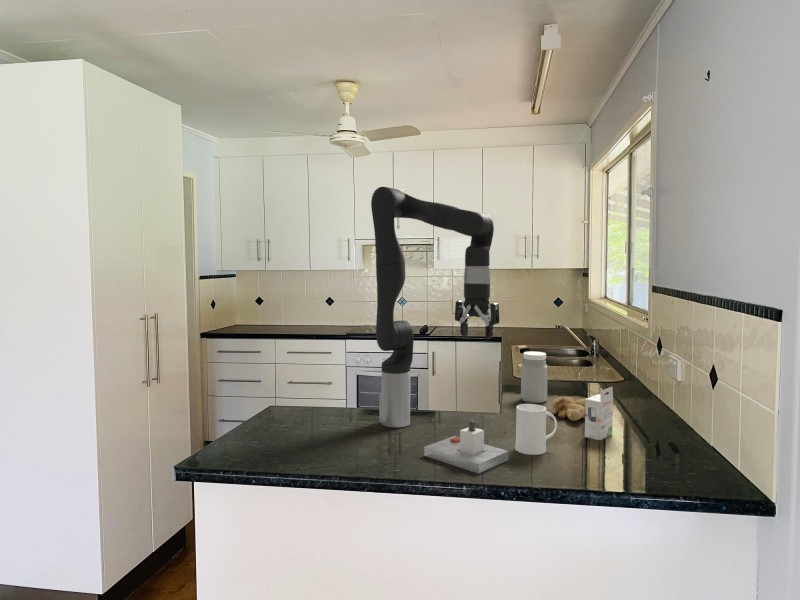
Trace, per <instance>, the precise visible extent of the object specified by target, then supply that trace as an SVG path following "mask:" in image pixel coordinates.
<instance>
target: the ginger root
mask: <svg viewBox="0 0 800 600" xmlns="http://www.w3.org/2000/svg"><path fill="white" fill-rule="evenodd" d="M587 398H588V397H586V398H580V399H576V400H575V399H574V397H572V396H571V397H570V396H564V397H563V396H562V397H559V398H556V399H554V400H553V403H552V410H554V411H556V412H558V414H557V416H558V417H560V418H562V419H564V418H568V419H569V420H570V421H573V422H575V421H579V420H580V419H585V403H586V400H585V399H587Z"/></svg>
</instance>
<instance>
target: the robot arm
mask: <svg viewBox="0 0 800 600" xmlns="http://www.w3.org/2000/svg"><path fill="white" fill-rule="evenodd" d="M370 200H371V201H370V205H371V206H370V207H371V214H372V215H371V216H372V223H373V231H374V242H375V247H374V248H375V270H376V271H375V274H376V275H375V276H376V294H377V301H376V303H377V305H376V306H377V307H376V321H375V322H376V324H375V338H376V344H377V346H378V348H379V349H380V350H382V351H383V352H390V351H392V354H390V356H389V357H388V358H386V359H384V360H383V361H382V362H381V392H380V393H379V394H378V395H379V397H378V399H379V402H378V404H379V409H378V412H379V415H378V416H379V422H378V423H380V424H381V425H382V426H384V427H388V428H404V427H408V426H410V424H411V367H412V363H413V358H414V357H413V356H414V341H415V340H414V339H415V338H414V336H415V335H414V330H413V327H412V325H411V323H410V322H409V321H408V320H395V319H394V318H395V317H394V315H395V313H394V311H395V305H396V302H397V300H398V297H399V295H400V294H401V291H402V289H403V287H404V285H405V281H406V260H405V255H404V251H403V250H402V247H401V245H400V242H399V239H398V237H397V234H396V229H395V219H399V218H400V219H401V218H402V219H412V220H417V221H420V222H423V223H426V224H428V225H431V226H433V227H437V228H441V229H444V230H448V231H454V232H455V233H459V234H462V235H463V236H468V237H471V238H470V239H471V240H470V244H469V246H466V248H465V251H464V253H465V255H464V271H463V298H464V300H456V301H455V307H454V309H455V310H454V320H455V321H456V322H458V323H460V324H459V325H460V335H461V336H462V337H467V336H468V335H469V323H468V322H469V320H470V319H471V318H472V317H475V318H480V319H481V320H482V321H483V322H484V324H485V327H484V331H485V332H484V333H485V334H484V335H485V336H484V338H485V340H491V339H492V337H494V326H496V325H497V324H500V304H499V303H498V302H493V303H491V302H490V297H491V271H490V268H491V267H490V260H491V259H490V250H491V246H492V242H493V237H494V232H495V230H494V229H495V228H494V221H493V219H492V217H491V215H489V214H487V213H484V212H477V211H472V210H467V209H463V208H459V207H457V206H454V205H449V204H445V203H439V202H434V201H426V200H423V199H419V198H415V197H414V196H413V195H412V196H411V195H409V194H407V193H405V192H403V191H401V190H400V189H397V188H392V187H388V186H380V187H378V188H376V189H375V191H373V193H372V195H371V199H370Z"/></svg>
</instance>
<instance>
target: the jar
mask: <svg viewBox="0 0 800 600" xmlns="http://www.w3.org/2000/svg"><path fill="white" fill-rule="evenodd" d="M546 359H547V353H546V352H543V351H532V350H531V351H524V352H523V363H521V377H520V379H521V383H520V398H521V400H522V401H523V402H525V403H528V404H542V403H544V402H546V401H547V400H548V375H549V373H548V371H549V369H548V368H549V366H548V364H547V361H546Z"/></svg>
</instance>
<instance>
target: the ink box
mask: <svg viewBox="0 0 800 600" xmlns="http://www.w3.org/2000/svg"><path fill="white" fill-rule="evenodd" d="M613 388H614V387H613V386H610V387H608V388H605V389H603V390H600V393H598V394H596V395H593V396H590V397H586V398H587V399H585V400H586V403H585V418H584V420H585V421H584V438H588V439H591V440H595V441H596V440H597V441H602V440H604V439H606V438H608V437H609V436H612V435H613V421H614V420H613V416H614V414H613V413H614V411H613V410H614V391H613ZM607 393H608V394H607Z"/></svg>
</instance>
